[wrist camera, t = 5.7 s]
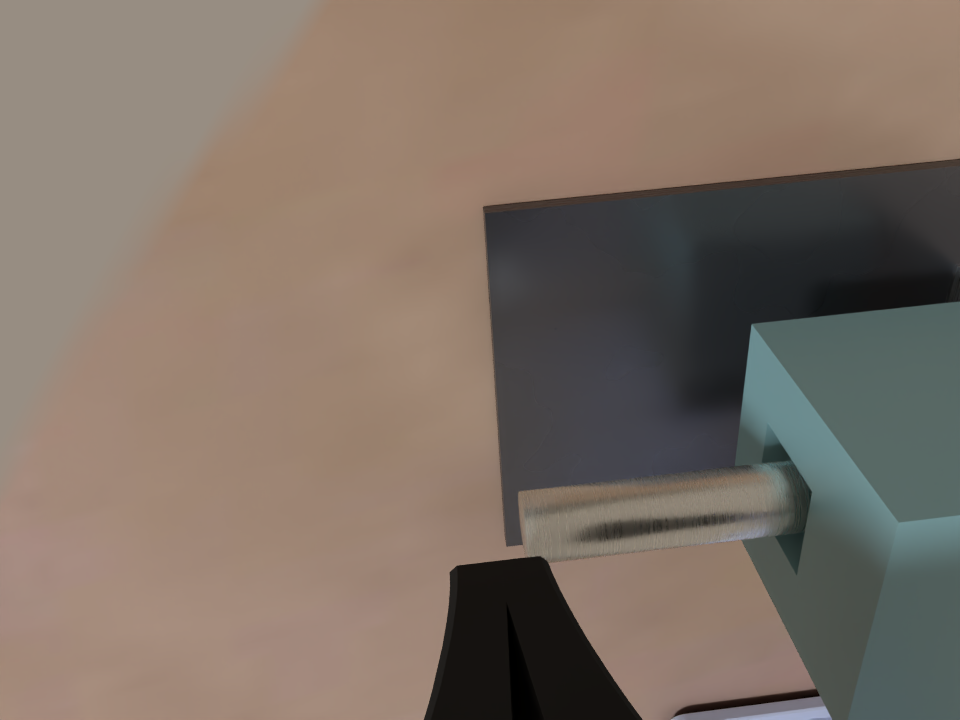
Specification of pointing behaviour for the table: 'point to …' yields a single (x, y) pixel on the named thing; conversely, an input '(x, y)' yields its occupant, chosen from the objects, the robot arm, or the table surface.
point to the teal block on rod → (865, 502)
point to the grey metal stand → (682, 342)
